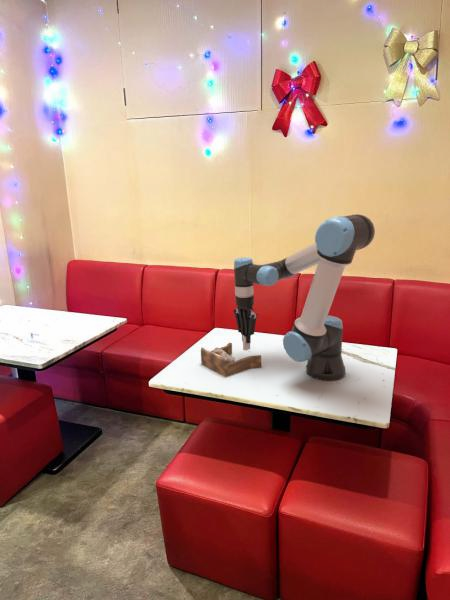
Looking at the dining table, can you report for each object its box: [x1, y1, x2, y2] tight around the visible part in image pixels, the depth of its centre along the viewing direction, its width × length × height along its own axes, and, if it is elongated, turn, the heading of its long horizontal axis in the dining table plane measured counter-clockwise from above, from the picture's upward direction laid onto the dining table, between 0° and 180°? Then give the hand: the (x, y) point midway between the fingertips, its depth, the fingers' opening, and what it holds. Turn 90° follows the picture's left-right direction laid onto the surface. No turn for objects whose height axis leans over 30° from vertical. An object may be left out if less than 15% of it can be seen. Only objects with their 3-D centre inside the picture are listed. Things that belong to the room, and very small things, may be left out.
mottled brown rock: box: [212, 347, 236, 364], centre depth 177 cm, size 8×10×10 cm
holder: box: [200, 342, 262, 378], centre depth 177 cm, size 21×18×8 cm
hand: (246, 349), depth 181 cm, fingers closed
